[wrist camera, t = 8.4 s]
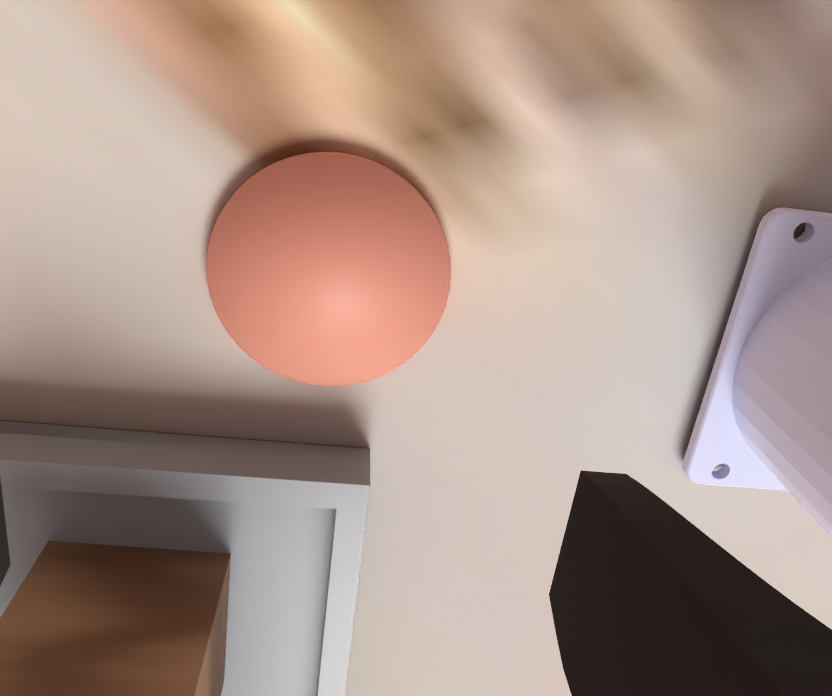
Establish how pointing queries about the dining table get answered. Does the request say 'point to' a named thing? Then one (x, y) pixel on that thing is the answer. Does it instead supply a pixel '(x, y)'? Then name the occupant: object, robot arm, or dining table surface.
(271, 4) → the dining table surface
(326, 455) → the slate tray
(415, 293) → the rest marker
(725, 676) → the robot arm
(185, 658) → the walnut block
